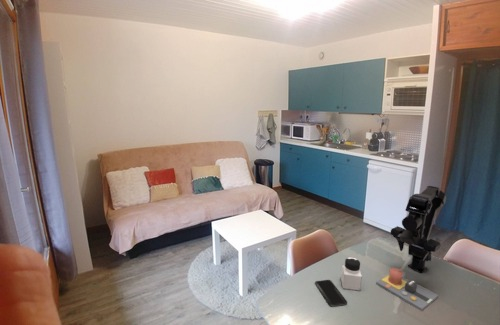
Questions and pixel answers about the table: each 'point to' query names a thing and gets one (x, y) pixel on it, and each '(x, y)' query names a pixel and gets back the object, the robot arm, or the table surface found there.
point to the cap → (395, 276)
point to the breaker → (410, 286)
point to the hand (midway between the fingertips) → (411, 255)
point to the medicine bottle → (351, 274)
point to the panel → (416, 299)
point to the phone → (330, 293)
